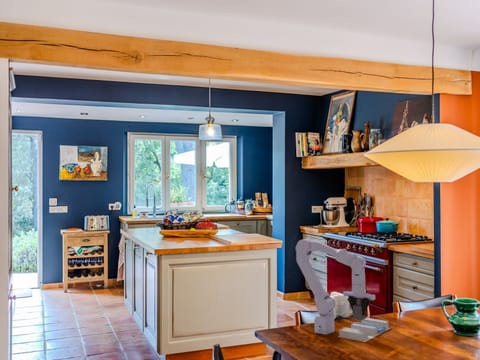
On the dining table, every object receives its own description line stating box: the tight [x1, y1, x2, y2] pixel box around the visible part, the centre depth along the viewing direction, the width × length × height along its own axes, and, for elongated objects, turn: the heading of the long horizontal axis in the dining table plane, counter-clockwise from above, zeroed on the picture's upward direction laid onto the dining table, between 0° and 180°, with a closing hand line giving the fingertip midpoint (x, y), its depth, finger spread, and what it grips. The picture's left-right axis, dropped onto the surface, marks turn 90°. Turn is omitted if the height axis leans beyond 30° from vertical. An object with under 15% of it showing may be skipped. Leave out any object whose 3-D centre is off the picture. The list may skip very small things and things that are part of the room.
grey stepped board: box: [337, 317, 391, 343], centre depth 218 cm, size 26×13×4 cm, turn 139°
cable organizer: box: [329, 291, 351, 320], centre depth 250 cm, size 15×11×12 cm
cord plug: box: [352, 299, 367, 321], centre depth 214 cm, size 4×4×8 cm
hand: (359, 314), depth 214 cm, fingers closed on cord plug, 4 cm apart
